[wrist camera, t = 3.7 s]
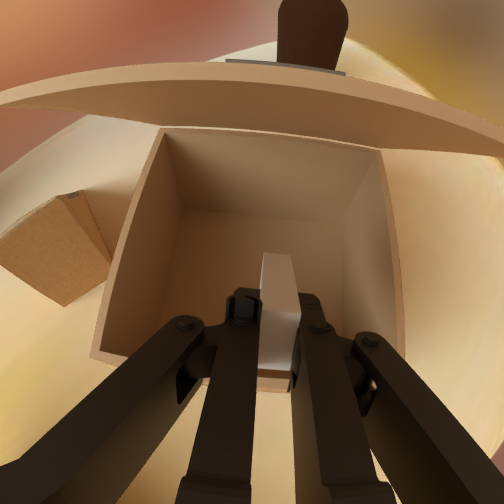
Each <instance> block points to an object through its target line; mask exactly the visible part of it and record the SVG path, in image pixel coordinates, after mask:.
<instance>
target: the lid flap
mask: <svg viewBox="0 0 504 504" xmlns="http://www.w3.org/2000/svg"><path fill="white" fill-rule="evenodd" d="M0 107H20V108H35V109H48V110H59V111H68V112H78V113H85V114H93V115H100V116H107V117H114V118H121V119H127V120H133V121H139V122H144V123H150V124H155V125H161V126H200V127H221V128H236V129H249V130H261V131H271V132H280V133H289V134H297V135H305V136H312V137H319V138H325V139H332V140H338V141H344V142H350V143H355V144H361V145H366V146H371V147H376V148H389V149H413V150H430V151H444V152H456V153H466V154H475V155H484V156H492V157H500V158H504V128H503V127H501V126H498V125H496V124H494V123H492V122H490V121H487V120H485V119H483V118H480V117H478V116H475V115H473V114H471V113H468V112H466V111H463V110H460V109H458V108H456V107H453V106H450V105H447V104H445V103H442V102H439V101H436V100H433V99H430V98H427V97H424V96H421V95H418V94H414V93H411V92H408V91H404V90H401V89H397V88H393V87H390V86H386V85H382V84H378V83H374V82H370V81H365V80H361V79H356V78H352V77H347V76H345V73H344V72H339V71H334V70H328V69H322V68H316V67H310V66H303V65H295V64H287V63H278V62H268V61H255V60H239V59H226V62H174V63H155V64H141V65H131V66H120V67H112V68H105V69H97V70H91V71H85V72H79V73H74V74H68V75H63V76H58V77H54V78H49V79H45V80H41V81H37V82H33V83H29V84H25V85H21V86H18V87H14V88H11V89H8V90H4V91H2V92H0Z"/></svg>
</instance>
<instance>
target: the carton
mask: <svg viewBox="0 0 504 504" xmlns="http://www.w3.org/2000/svg"><path fill="white" fill-rule="evenodd" d="M264 252H267V253H276V254H285V255H291V260H292V265H293V270H294V276H295V281H296V286H297V292H299V293H309V294H314V295H315V296H316V297H318V298H319V300H320V303H321V306H322V310H323V313H324V316H325V319H326V322H328V323H329V324H331V325H332V326H333V327H334V329H335V331H336V334H337V335H338V336H340V337H344V338H347V339H352V340H354V337H355V335H356V334H357V333H358V332H362V331H370V332H375V333H377V334H379V335H381V336H382V337H383V338H385V339H386V340H387V341H388V343H389V344H390V345H391V346H392V347H393V348H394V349H395V350H396V351H397V352H398V353H399V355H400V356H401V357H402V358H403V359H404V360H405V330H404V309H403V294H402V282H401V271H400V262H399V253H398V245H397V237H396V230H395V224H394V217H393V211H392V205H391V199H390V194H389V189H388V183H387V178H386V173H385V169H384V164H383V160H382V155H381V151H379V150H374V149H369V148H363V147H358V146H353V145H347V144H341V143H335V142H329V141H322V140H315V139H308V138H301V137H293V136H284V135H275V134H265V133H255V132H243V131H229V130H212V129H186V128H160V130H159V132H158V134H157V136H156V139H155V141H154V143H153V146H152V148H151V151H150V153H149V156H148V158H147V161H146V163H145V166H144V168H143V171H142V173H141V176H140V179H139V181H138V184H137V187H136V189H135V192H134V195H133V198H132V200H131V203H130V206H129V209H128V212H127V215H126V218H125V221H124V224H123V227H122V230H121V233H120V237H119V240H118V243H117V246H116V250H115V253H114V256H113V260H112V263H111V267H110V271H109V274H108V278H107V282H106V286H105V289H104V293H103V297H102V302H101V306H100V310H99V314H98V319H97V323H96V328H95V333H94V338H93V343H92V348H91V353H90V358H92V359H95V360H98V361H101V362H104V363H108V364H111V365H114V366H117V367H119V366H120V365H121V364H122V363H123V362H124V361H126V360H127V359H128V358H129V357H130V356H131V355H132V354H133V353H134V352H135V351H136V350H138V349H139V348H140V347H141V346H142V345H143V344H144V343H145V342H146V341H147V340H149V339H150V338H151V337H152V336H153V335H154V334H155V333H156V332H157V331H158V330H160V329H161V328H162V327H163V326H164V325H165V324H166V323H167V322H168V321H169V320H171V319H172V318H174V317H177V316H180V315H190V316H195V317H197V318H200V319H201V320H202V321H203V322H204V325H205V326H215V325H219V324H221V323H223V322H224V321H225V311H226V299H227V298H228V297H229V296H231V295H233V294H234V291H235V290H236V289H238V288H239V287H244V288H253V289H259V288H260V280H261V271H262V262H263V254H264ZM291 372H292V362H291V367H290V371H285V370H273V369H262V368H258V372H257V389H256V391H264V392H277V393H291V389H290V392H287V389H288V385H289V380H290V376H291ZM209 380H210V378H204V379H203V382H202V385H208V384H209ZM372 385H373V387H374V388H375V389H376V385H375V383H374V381H373V384H372Z"/></svg>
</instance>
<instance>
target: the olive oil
mask: <svg viewBox="0 0 504 504" xmlns="http://www.w3.org/2000/svg"><path fill="white" fill-rule="evenodd" d="M347 29H348V13H347V9H346V7H345V5H344V4H343V3H342V1H341V0H283V1H282V3H281V5H280V8H279V11H278V40H277V62H278V63H287V64H295V65H303V66H310V67H316V68H322V69H328V70H334V71H335V68H336V64H337V61H338V58H339V54H340V51H341V48H342V44H343V41H344V38H345V34H346V31H347Z"/></svg>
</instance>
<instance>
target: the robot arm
mask: <svg viewBox="0 0 504 504" xmlns="http://www.w3.org/2000/svg"><path fill="white" fill-rule="evenodd" d="M291 362H292V372H291V376H290V380H289V385H288V389H287V392H290V389H291V405H292V424H293V444H294V467H295V494H296V504H397V502H396V498H395V494H394V491H393V489H394V490H395V492H396V494H397V496H398V497H399V499H400V501H401V503H402V504H504V476H503V475H502V474H501V473H500V471H499V470H498V469H497V467H496V466H495V465H494V464H493V462H492V461H491V460H490V459H489V458H488V456H487V455H486V454H485V453H484V451H483V450H482V449H481V448H480V447H479V445H478V444H477V443H476V442H475V441H474V439H473V438H472V437H471V436H470V435H469V433H468V432H467V431H466V430H465V429H464V427H463V426H462V425H461V424H460V423H459V421H458V420H457V419H456V418H455V417H454V416H453V414H452V413H451V412H450V411H449V410H448V409H447V408H446V406H445V405H444V404H443V403H442V402H441V401H440V399H439V398H438V397H437V396H436V395H435V394H434V393H433V391H432V390H431V389H430V388H429V387H428V386H427V385H426V384H425V382H424V381H423V380H422V379H421V378H420V377H419V376H418V375H417V373H416V372H415V371H414V370H413V369H412V368H411V367H410V366H409V365H408V363H407V362H406V361H405V360H404V359H403V358H402V357H401V356H400V355H399V353H398V352H397V351H396V350H395V349H394V348H393V347H392V346H391V345H390V344H389V343H388V341H387V340H386V339H385V338H383V337H382V336H381V335H379V334H377V333H375V332H370V331H362V332H358V333H357V334H356V335H355V337H354V340H352V339H347V338H344V337H340V336H338V335H337V334H336V331H335V329H334V327H333V326H332V325H331V324H329V323H328V322H326V319H325V316H324V313H323V310H322V306H321V303H320V300H319V298H318V297H316V296H315V295H314V294H309V293H299V292H297V286H296V281H295V276H294V270H293V265H292V260H291V255H285V254H276V253H267V252H264V254H263V262H262V271H261V280H260V288H259V289H253V288H244V287H239V288H238V289H236V290H235V291H234V294H233V295H231V296H229V297H228V298H227V299H226V311H225V321H224V322H223V323H221V324H219V325H215V326H205V325H204V322H203V321H202V320H201V319H200V318H197V317H195V316H190V315H180V316H177V317H174V318H172V319H171V320H169V321H168V322H167V323H166V324H165V325H164V326H163V327H162V328H161V329H160V330H158V331H157V332H156V333H155V334H154V335H153V336H152V337H151V338H150V339H149V340H147V341H146V342H145V343H144V344H143V345H142V346H141V347H140V348H139V349H138V350H136V351H135V352H134V353H133V354H132V355H131V356H130V357H129V358H128V359H127V360H126V361H124V362H123V363H122V364H121V365H120V366H119V367H118V368H117V369H116V370H115V371H114V372H112V373H111V374H110V375H109V376H108V377H107V378H106V379H105V380H104V381H103V382H102V383H100V384H99V385H98V386H97V387H96V388H95V389H94V390H93V391H92V392H91V393H90V394H88V395H87V396H86V397H85V398H84V399H83V400H82V401H81V402H80V403H79V404H78V405H76V406H75V407H74V408H73V409H72V410H71V411H70V412H69V413H68V414H67V415H66V416H65V417H63V418H62V419H61V420H60V421H59V422H58V423H57V424H56V425H55V426H54V427H53V428H52V429H50V430H49V431H48V432H47V433H46V434H45V435H44V436H43V437H42V438H41V439H40V440H39V441H37V442H36V443H35V444H34V445H33V446H32V447H31V448H30V449H29V450H28V451H27V452H26V453H25V454H23V455H22V456H21V457H20V458H19V459H17V460H15V461H12V462H10V463H8V464H5V465H3V466H0V504H115V503H116V502H117V501H118V499H119V498H120V497H121V495H122V494H123V493H124V491H125V490H126V489H127V487H128V486H129V485H130V483H131V482H132V481H133V479H134V478H135V477H136V475H137V474H138V473H139V471H140V470H141V469H142V467H143V466H144V464H145V463H146V462H147V460H148V459H149V458H150V456H151V455H152V453H153V452H154V451H155V449H156V448H157V447H158V445H159V444H160V442H161V441H162V440H163V438H164V437H165V435H166V434H167V433H168V431H169V430H170V428H171V427H172V426H173V424H174V423H175V421H176V420H177V419H178V417H179V416H180V414H181V413H182V412H183V410H184V409H185V407H186V406H187V404H188V403H189V402H190V400H191V399H192V397H193V396H194V394H195V393H196V392H197V390H198V389H199V387H200V386H201V384H202V382H203V379H204V378H210V380H209V384H208V389H207V393H206V397H205V401H204V405H203V409H202V413H201V417H200V421H199V425H198V429H197V433H196V437H195V442H194V446H193V450H192V454H191V458H190V462H189V466H188V470H187V474H186V476H183V477H182V479H181V482H180V485H179V488H178V492H177V496H176V500H175V504H251V484H250V481H251V466H252V451H253V436H254V421H255V405H256V389H257V372H258V368H262V369H273V370H285V371H290V367H291ZM373 381H374V383H375V385H376V389H375V388H374V387H373V385H372V384H373ZM370 449H371V451H372V452H373V454H374V456H375V457H376V459H377V461H378V463H379V464H380V466H381V468H382V470H383V471H384V473H385V475H386V477H387V478H388V480H389V482H390V483H391V485H392V486H391V485H390V484H389V483H388V482H381V481H379V480H378V477H377V475H376V470H375V466H374V462H373V459H372V455H371V451H370ZM392 487H393V489H392Z"/></svg>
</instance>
